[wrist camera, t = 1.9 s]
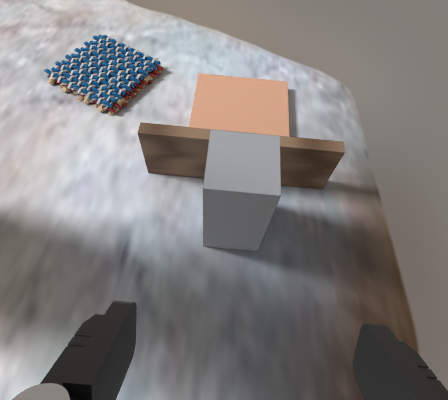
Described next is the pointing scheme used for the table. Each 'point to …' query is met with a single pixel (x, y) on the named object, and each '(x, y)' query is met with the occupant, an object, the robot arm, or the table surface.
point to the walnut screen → (199, 137)
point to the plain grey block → (240, 188)
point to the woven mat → (105, 73)
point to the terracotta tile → (241, 105)
